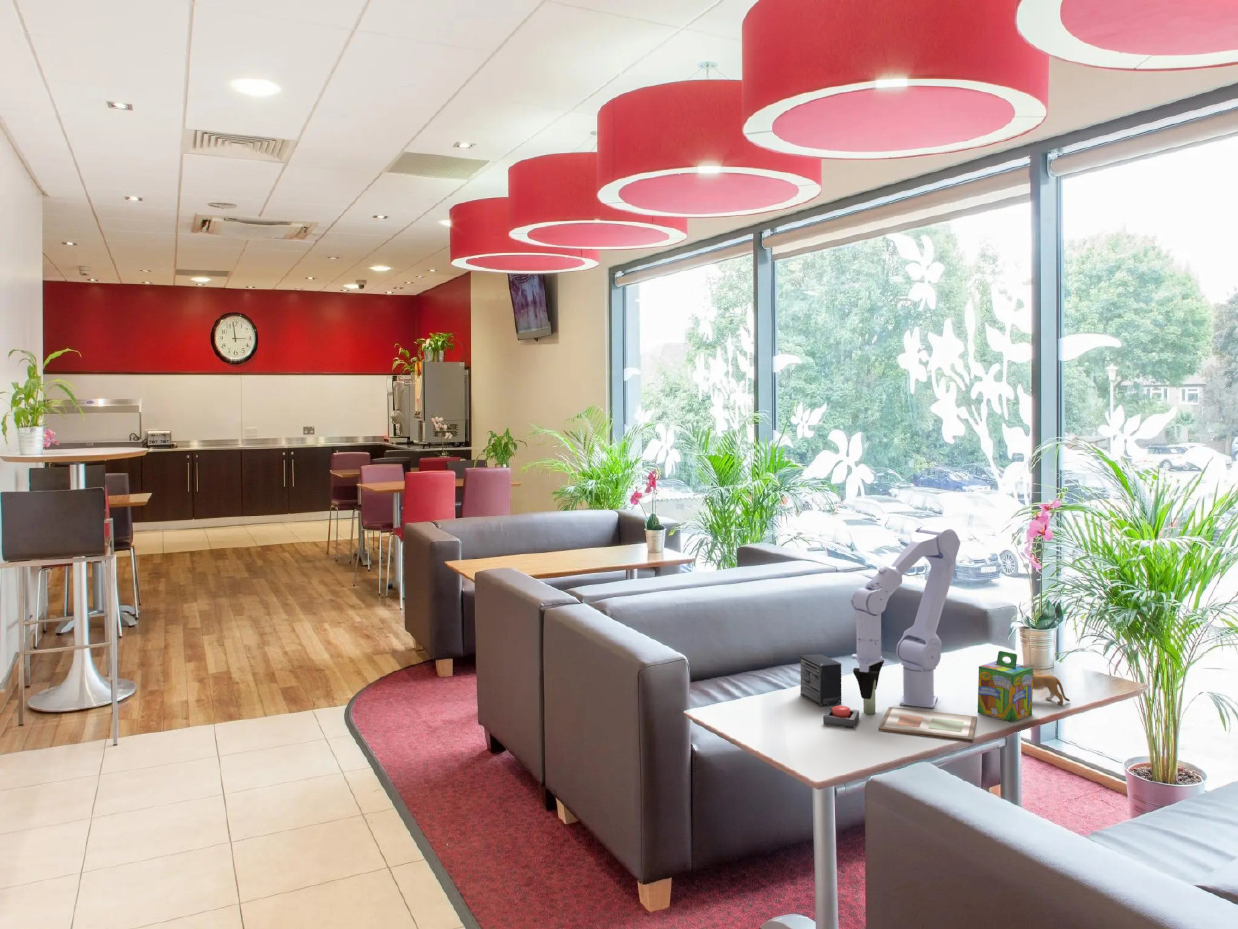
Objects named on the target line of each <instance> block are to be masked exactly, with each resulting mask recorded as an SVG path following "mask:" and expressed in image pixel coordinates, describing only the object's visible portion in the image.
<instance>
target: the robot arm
mask: <svg viewBox="0 0 1238 929" xmlns="http://www.w3.org/2000/svg"><path fill="white" fill-rule="evenodd" d="M960 546H961V541H960V539H959V536H958V534H957V533H956V531H955V530H953V529H951V528H941V527H934V526H928V525H920V526H918V527H917V528H916V529H915V531H914V532H912V533H911V535H910V541H909V543H908V544H907V545H906V546H905V547H904V549H903V550H902V551H901V552H900V554H899V555H898V557H896V559H895V561H894V562H893V563H892V564H891V565H890V566H883V567H880V568H879V569H878V570H877V571H878V572H877V573H876V574H875V576H874V577H873V578H872V579H871V580H870V581H868V582H867V583H866V585H865V586H864V587H860V588H857V590H856V591H855V592H854V593H853V595H852V599H850V605H851V607H852V609H853V610H854V616H855V618H856V619H855V620H856V624H855V625H856V628H855V629H856V653H853V654H852V655H851V659H853V660H856V662H857V663H858V664H859V667H854V668H853V669H852V673H853V676H854V677H855V679H856V681H857V685H858V687H859V693H860V696H861V699H871V697H872V692H873V685H874V681H875V680H876V688H875V691H876V690H877V688H878V685H879V684H878V683H879V678H880V673H881V670H882V667H883V666H884V663H885V659H883V656H882V613H883V612H885V610H886V609H887V603H888V602H889V599H890V597H891V596H892V595H893V593H894V592H896V590H898V588H899V587H900V586H901V585H902V584H903V575H904V574H906V573H907V572H908V571H909V570H910V569H911V568H912V567H914V565H916V563H918V561H919V560H920V559H922V558H923V557H924V558H925V559H926V560H927V561H928V563H929V564H930V570H929V573H928V576H927V580H926V583H925V586H924V590H923V593H922V596H921V599H920V603H919V605H918V608H917V613H916V617H915V620H914V623H913V624H912V626H910V627H909V628H906V630H904V632H903V634H902V636H901V638H900V640H898V643H897V644H896V648H895V649H896V650H895V652H896V656H897V658H898V660H900V664H901V665H902V675H903V678H902V679H903V682H902V683H903V684H902V685H903V691H902V692H903V695H902V698H901V699H900V701H899V705H902V706H911V707H912V706H913V707H920V708H929V709H934V708H935V705H936V703H937V699H938V695H937V694H935V691H934V689H935V687H934V682H935V680H934V678H935V677H934V675H935V674H934V673H935V672H934V670H936V669H937V668H936V667H938V665H939V663H940V661H941V657H942V656H941V653H942V652H941V648H942V645H943V641H942V640H941V639H940V637H939V635H938V634H937V629H938V627H939V626H938V625H939V623H940V619H941V615H942V613H943V610H944V606H945V603H946V599H947V596H948V592H949V589H950V586H951V583H952V582H951V581H952V579H953V576H954V572H955V569H956V566H957V565H956V563H957V556H958V553H959V550H960ZM921 640H922V641H921Z"/></svg>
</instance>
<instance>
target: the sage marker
mask: <svg viewBox="0 0 1238 929" xmlns="http://www.w3.org/2000/svg"><path fill="white" fill-rule="evenodd" d="M875 688H876V680H875V681H874V685H873V692H872V697H871V699H863V698H862V699H863V714H865V715H875V714H876V690H875ZM876 689H877V688H876Z"/></svg>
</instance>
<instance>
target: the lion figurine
mask: <svg viewBox="0 0 1238 929" xmlns="http://www.w3.org/2000/svg"><path fill="white" fill-rule="evenodd" d="M1058 686H1059V687H1058ZM1045 688H1047V689H1048V691H1049V694H1050V695H1049V696H1046V697H1045V700H1046V701H1052V699H1054V697H1056V698H1058V700H1059V701H1057V702H1056V704H1057V705H1058V706H1062V705H1063V704H1064V700H1065V701H1066V702H1071V700H1070V698H1067V697H1066V695H1065V692H1064V688H1063V685H1062V683H1061V681H1060V680H1059V679H1058V678H1057V677H1056V676H1054V675H1051V674H1043V675H1042V674H1041V675H1040V674H1038V675H1037V674H1034V673H1033V690H1035V691H1040V690H1043V689H1045ZM1058 688H1059V689H1058ZM1059 690H1060V691H1059Z"/></svg>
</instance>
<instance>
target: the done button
mask: <svg viewBox="0 0 1238 929" xmlns="http://www.w3.org/2000/svg"><path fill="white" fill-rule="evenodd" d="M832 708H833V716H836V717H845V718H849V717H850V710H851V708H850V707H849V706H847V705H846V706H845V705H835V706H834V705H833V707H832Z"/></svg>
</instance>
